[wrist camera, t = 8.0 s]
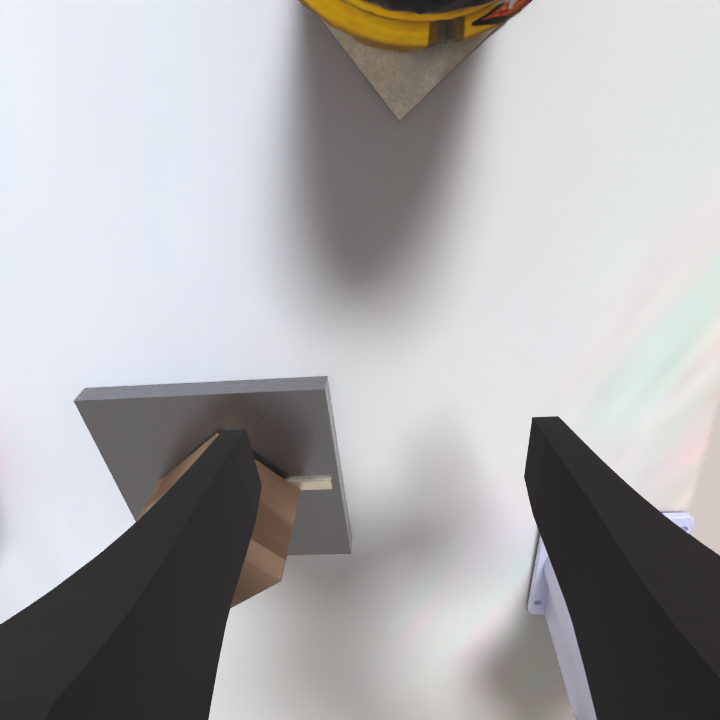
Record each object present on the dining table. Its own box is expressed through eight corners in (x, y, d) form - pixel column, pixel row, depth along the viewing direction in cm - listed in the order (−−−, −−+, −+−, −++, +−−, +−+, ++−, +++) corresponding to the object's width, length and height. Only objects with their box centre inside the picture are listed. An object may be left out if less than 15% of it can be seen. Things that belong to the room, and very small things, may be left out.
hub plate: (351, 539, 29) (347, 603, 26) (160, 543, 30) (133, 605, 27) (327, 376, 23) (317, 433, 19) (84, 388, 24) (35, 444, 20)
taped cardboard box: (238, 531, 28) (205, 632, 23) (157, 481, 26) (104, 581, 21) (300, 490, 25) (278, 594, 21) (217, 432, 23) (171, 533, 19)
